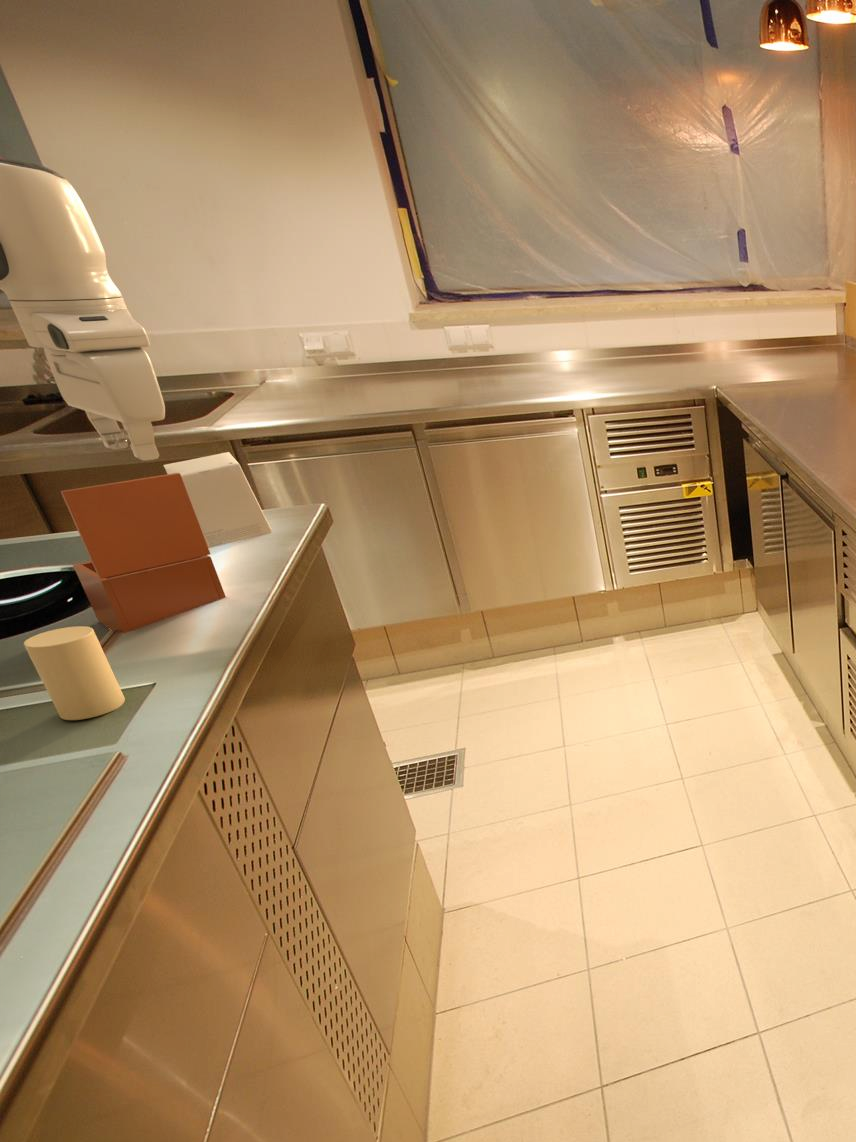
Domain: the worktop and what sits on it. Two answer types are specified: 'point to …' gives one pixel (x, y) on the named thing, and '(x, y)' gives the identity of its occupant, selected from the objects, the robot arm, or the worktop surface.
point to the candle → (75, 672)
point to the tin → (150, 592)
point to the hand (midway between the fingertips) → (132, 453)
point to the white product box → (221, 499)
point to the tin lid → (136, 524)
